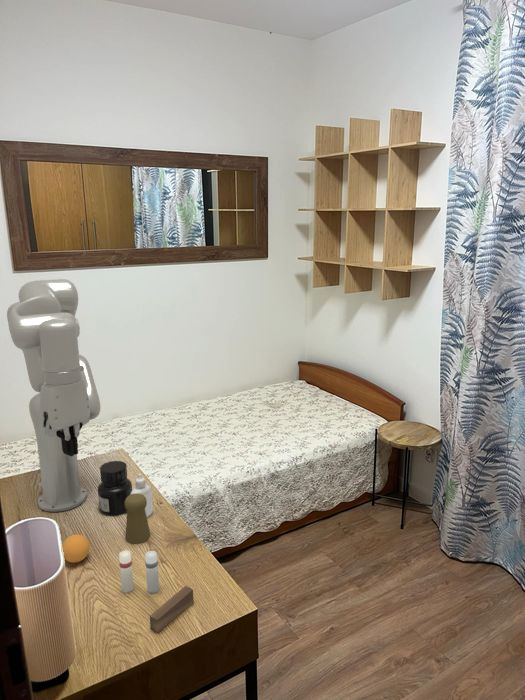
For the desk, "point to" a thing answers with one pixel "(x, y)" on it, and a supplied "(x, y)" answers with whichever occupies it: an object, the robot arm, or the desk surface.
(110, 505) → the ink bottle
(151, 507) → the eye dropper bottle
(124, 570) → the front pin
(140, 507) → the olive pawn
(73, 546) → the ball
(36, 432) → the robot arm
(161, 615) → the rail
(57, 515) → the desk surface
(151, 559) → the rear pin
